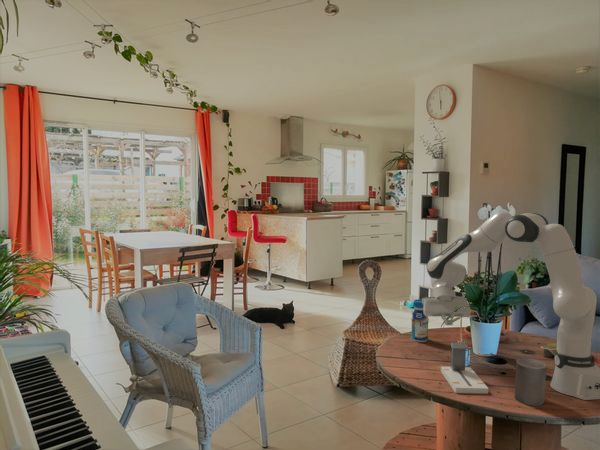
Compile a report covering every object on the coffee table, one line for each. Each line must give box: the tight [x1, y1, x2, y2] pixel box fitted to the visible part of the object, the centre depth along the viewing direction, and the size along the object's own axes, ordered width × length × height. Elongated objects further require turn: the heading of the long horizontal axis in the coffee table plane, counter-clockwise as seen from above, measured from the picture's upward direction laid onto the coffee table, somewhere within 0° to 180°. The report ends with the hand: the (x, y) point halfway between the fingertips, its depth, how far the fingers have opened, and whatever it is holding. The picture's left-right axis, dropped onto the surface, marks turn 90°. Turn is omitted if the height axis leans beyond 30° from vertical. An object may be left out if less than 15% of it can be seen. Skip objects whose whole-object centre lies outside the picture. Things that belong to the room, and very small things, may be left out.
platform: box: [540, 342, 557, 358], centre depth 211 cm, size 12×18×7 cm, turn 104°
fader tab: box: [450, 341, 468, 370], centre depth 189 cm, size 6×2×11 cm, turn 88°
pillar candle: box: [514, 357, 547, 407], centre depth 166 cm, size 10×10×15 cm
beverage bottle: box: [410, 299, 430, 343], centre depth 234 cm, size 8×8×20 cm
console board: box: [440, 366, 489, 395], centre depth 182 cm, size 12×21×2 cm, turn 177°
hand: (449, 324), depth 203 cm, fingers closed
